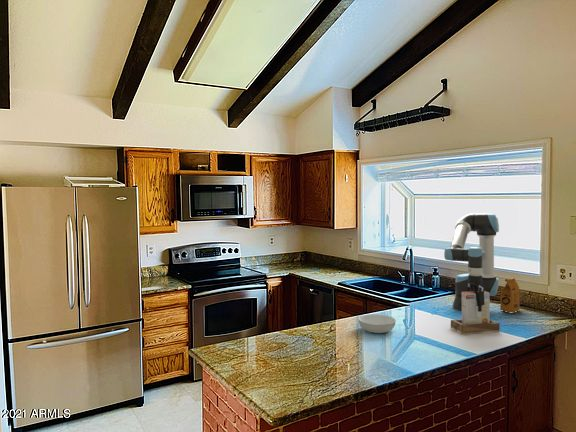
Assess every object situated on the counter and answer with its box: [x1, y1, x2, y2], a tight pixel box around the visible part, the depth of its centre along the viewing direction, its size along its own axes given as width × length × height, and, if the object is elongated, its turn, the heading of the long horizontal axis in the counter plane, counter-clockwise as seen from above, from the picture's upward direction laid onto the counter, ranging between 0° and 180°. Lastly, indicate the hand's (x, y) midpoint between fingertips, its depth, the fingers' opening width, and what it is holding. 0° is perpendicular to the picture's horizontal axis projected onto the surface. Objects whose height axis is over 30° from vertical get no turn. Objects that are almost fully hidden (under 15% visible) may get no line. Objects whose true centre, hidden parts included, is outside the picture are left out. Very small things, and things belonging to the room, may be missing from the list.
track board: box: [450, 318, 501, 336], centre depth 255 cm, size 13×22×5 cm, turn 102°
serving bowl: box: [357, 313, 397, 334], centre depth 255 cm, size 21×21×7 cm
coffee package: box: [499, 276, 521, 313], centre depth 296 cm, size 10×12×22 cm
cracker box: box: [461, 291, 491, 325], centre depth 255 cm, size 14×6×21 cm, turn 96°
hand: (474, 315), depth 255 cm, fingers open, 6 cm apart
